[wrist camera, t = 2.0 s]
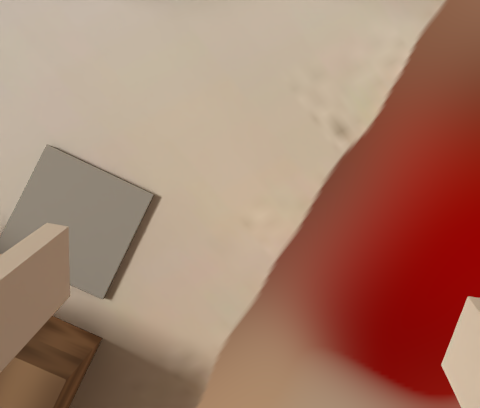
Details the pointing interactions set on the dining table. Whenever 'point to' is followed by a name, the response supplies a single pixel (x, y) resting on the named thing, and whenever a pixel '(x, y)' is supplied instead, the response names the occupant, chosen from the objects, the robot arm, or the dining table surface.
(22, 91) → the dining table surface
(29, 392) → the brown square frame
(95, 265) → the mat
